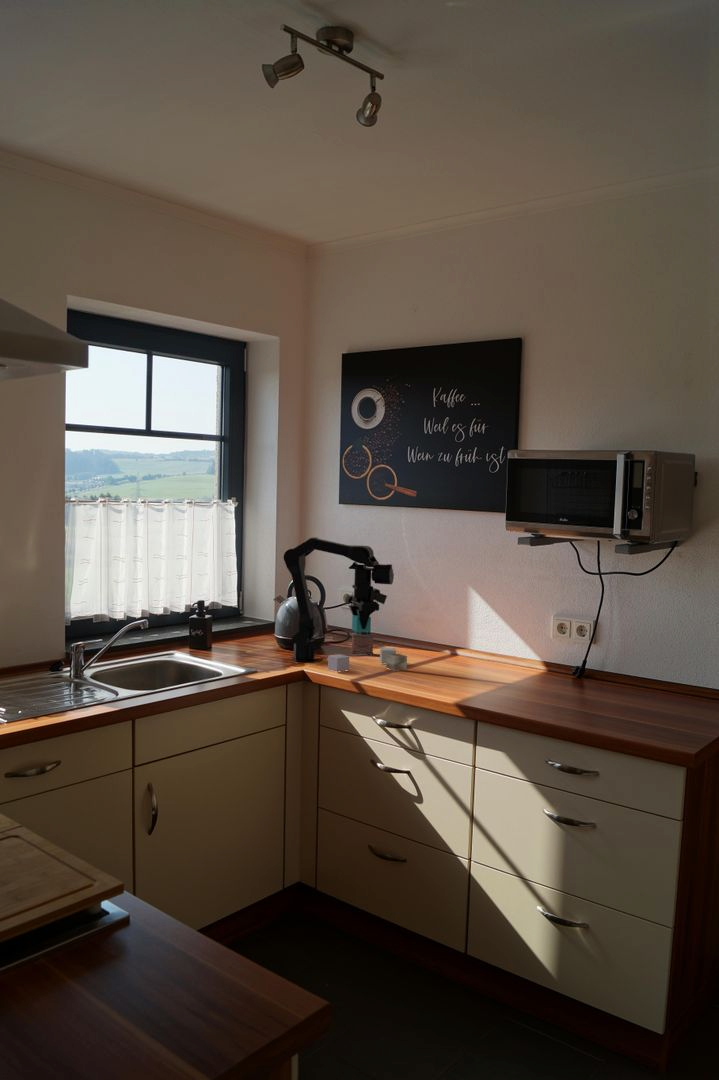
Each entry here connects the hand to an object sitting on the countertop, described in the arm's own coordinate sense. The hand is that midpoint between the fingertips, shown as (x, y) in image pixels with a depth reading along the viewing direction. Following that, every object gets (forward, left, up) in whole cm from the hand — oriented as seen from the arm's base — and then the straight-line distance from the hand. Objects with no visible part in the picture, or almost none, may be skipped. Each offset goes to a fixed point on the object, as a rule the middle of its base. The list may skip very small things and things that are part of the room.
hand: (361, 627), depth 301 cm
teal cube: (0, 0, -1) cm, 1 cm away
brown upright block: (+7, +18, -13) cm, 23 cm away
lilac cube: (-10, -7, -13) cm, 18 cm away
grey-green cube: (+10, -9, -13) cm, 19 cm away
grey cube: (+11, +2, -13) cm, 17 cm away
